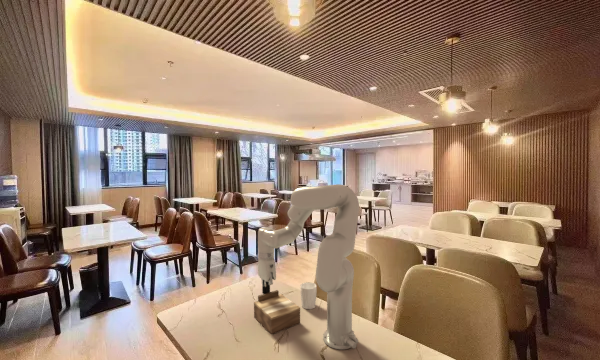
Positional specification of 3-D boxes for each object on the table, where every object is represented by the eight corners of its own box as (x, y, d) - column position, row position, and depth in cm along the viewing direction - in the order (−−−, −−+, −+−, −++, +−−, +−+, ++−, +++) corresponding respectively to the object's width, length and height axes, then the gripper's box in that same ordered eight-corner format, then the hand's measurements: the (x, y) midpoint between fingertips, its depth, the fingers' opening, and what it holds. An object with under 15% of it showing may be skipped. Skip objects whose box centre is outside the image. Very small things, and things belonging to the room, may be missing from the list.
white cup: (317, 310, 127) (316, 289, 126) (300, 309, 127) (300, 288, 127) (316, 301, 135) (316, 282, 134) (300, 301, 135) (300, 282, 134)
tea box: (300, 323, 116) (300, 309, 116) (271, 334, 108) (271, 320, 107) (281, 308, 129) (280, 295, 129) (254, 317, 121) (253, 304, 121)
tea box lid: (300, 309, 115) (300, 302, 115) (271, 319, 107) (271, 312, 107) (281, 295, 129) (280, 288, 128) (254, 303, 120) (253, 296, 120)
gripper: (281, 257, 121) (281, 297, 122) (265, 249, 133) (265, 285, 134) (266, 260, 117) (266, 302, 117) (251, 251, 129) (251, 289, 130)
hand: (266, 293), depth 126 cm, fingers closed
